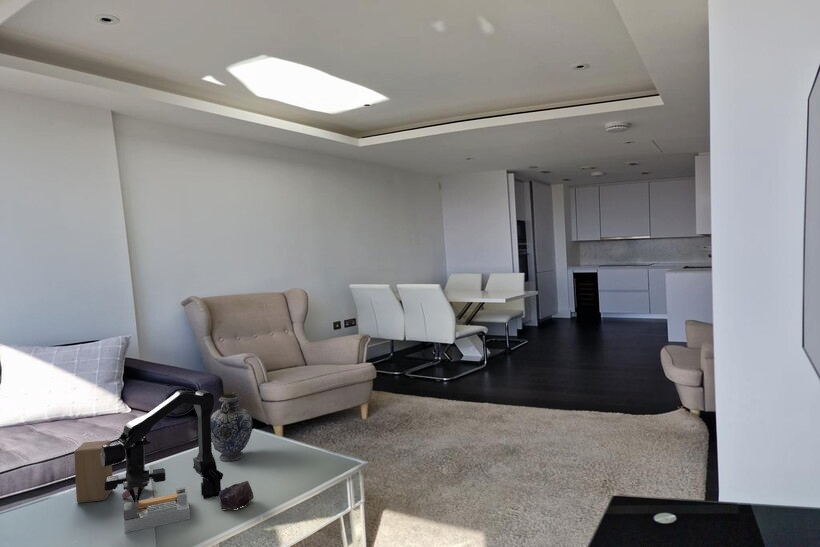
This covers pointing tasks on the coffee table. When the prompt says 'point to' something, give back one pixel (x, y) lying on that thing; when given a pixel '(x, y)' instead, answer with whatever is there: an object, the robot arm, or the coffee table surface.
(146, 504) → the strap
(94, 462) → the block
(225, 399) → the decorative vase
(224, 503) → the rock
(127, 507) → the block
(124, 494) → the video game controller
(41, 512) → the coffee table surface
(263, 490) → the coffee table surface
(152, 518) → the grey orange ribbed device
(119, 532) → the coffee table surface
